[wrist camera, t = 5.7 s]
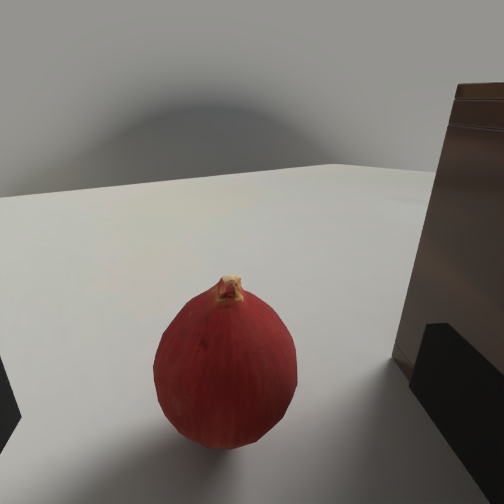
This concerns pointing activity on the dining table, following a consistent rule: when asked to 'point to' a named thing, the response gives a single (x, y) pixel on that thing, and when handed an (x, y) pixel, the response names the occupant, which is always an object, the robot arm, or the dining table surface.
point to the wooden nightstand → (462, 234)
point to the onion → (225, 367)
